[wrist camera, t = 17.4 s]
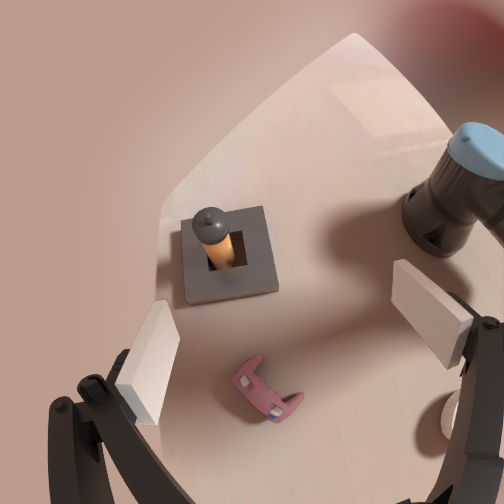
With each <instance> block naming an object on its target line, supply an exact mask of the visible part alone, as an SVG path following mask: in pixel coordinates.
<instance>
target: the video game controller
mask: <svg viewBox="0 0 504 504" xmlns="http://www.w3.org/2000/svg"><path fill="white" fill-rule="evenodd" d="M262 359H263V355H262V354H258V355H256V356H254V357H253V358H251V359H250V360H249V361H247V362H246V363H245V364H243V365H242V366H241V368H240V369H239V370H238V371H237V372H236V373H235V374H234V375H233V376H232V382H233V385H234V386H235V387H236V388H237V389H238V390H239V391H241V392H242V394H243V395H244V396H245V397H246V398H247V399H248V401H249V402H250V403H251V404H252V405H254V406H255V407H256V408H257V409H258V410H259V411H261V412H262V413H263V414H264V415H265V416H266V417H267V419H269V420H270V421H272V422H273V423H280V422H281V421H283V420H284V419H286V418H287V417H288V416H290V415H291V414H292V413H293V412H294V411H295V409H296V408H297V407H298V405H299V404H300V403H301V401H302V400H303V398H304V393H303V392H301V393H298V394H296V395H295V396H294V397H292V398H291V399H290V400H288V401H287V402H285V403H284V402H282V401H281V398H280V396H279V395H278V394H277V393H276V392H274V391H271V389H270V388H269V387H267V386H266V384H265V382H264V381H263V380H262V379H261V378H260V377H258V376H255V375H254V374H253V372H254V370H255V369H256V367H257V366H258V365H259V364H260V363H261V361H262Z"/></svg>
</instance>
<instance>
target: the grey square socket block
mask: <svg viewBox="0 0 504 504" xmlns="http://www.w3.org/2000/svg"><path fill="white" fill-rule="evenodd" d="M224 213H225V215H226V217H227V221H228V225H229V237H230V240H231V241H235V240H241V239H244V246H245V252H246V258H247V264H248V265H244V266H238V267H232V268H226V269H221V270H215V271H212V267H211V261H210V259H209V257H208V255H207V252H206V250H205V248H204V246H203V244H202V243H201V242H200V241H199V240H198V239H197V237H196V235H195V233H194V231H193V228H192V220H193V218H192V219H187V220H182V221H181V237H182V257H183V273H184V287H185V300H186V301H187V302H188V303H189V304H190V305H197V304H204V303H210V302H217V301H223V300H229V299H236V298H242V297H248V296H253V295H259V294H265V293H271V292H276V291H279V283H278V278H277V273H276V268H275V264H274V259H273V254H272V249H271V244H270V239H269V234H268V229H267V225H266V220H265V215H264V210H263V206H257V207H252V208H246V209H240V210H235V211H229V212H224Z"/></svg>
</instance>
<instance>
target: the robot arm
mask: <svg viewBox="0 0 504 504" xmlns="http://www.w3.org/2000/svg"><path fill="white" fill-rule="evenodd" d="M402 216H403V221H404V224H405V227H406V229H407V231H408V233H409V235H410V236H411V238H412V239H413V240H414V241H415V242H416V244H417V245H419V246H420V247H421V248H422V249H423V250H425V251H426V252H428V253H430V254H432V255H435V256H439V257H448V256H452V255H454V254H455V253H457V252H458V251H459V250H460V249H461V248H462V247H463V246H464V245H465V243H466V242H467V239H468V237H469V235H470V232H471V230H472V228H473V225H474V223H475V222H476V221H477V220H479V221H480V222H481V223H482V224H483V225H484V226H485V227H486V228H487V229H488V230H489V232H490V233H491V234H492V235H493V236H494V237H495V238H496V240H497V241H498V242H499V243H500V244H501V245H502V247H503V248H504V136H503V135H502V134H501V133H499V132H498V131H496V130H495V129H493V128H491V127H489V126H487V125H484V124H481V123H476V122H467V123H464V124H462V125H461V126H460V127H459V128H458V129H457V131H456V133H455V134H454V136H453V137H452V138H451V139H450V140H449V142H448V144H447V148H446V150H445V152H444V154H443V155H442V157H441V159H440V161H439V162H438V164H437V166H436V167H435V169H434V170H433V172H432V174H431V175H430V177H429V178H428V179H426V180H425V181H423V182H422V183H420V184H419V185H417V186H416V187H414V188H413V189H412V190H411V191H410V192H409V194H408V195H407V197H406V199H405V201H404V203H403V207H402ZM391 302H392V303H393V304H394V305H395V306H396V308H397V309H398V310H399V311H400V312H401V313H402V315H403V316H404V317H405V318H406V319H407V321H408V322H409V323H410V324H411V325H412V327H413V328H414V329H415V330H416V331H417V333H418V334H419V335H420V336H421V338H422V339H423V340H424V341H425V343H426V344H427V345H428V346H429V348H430V349H431V350H432V351H433V353H434V354H435V355H436V356H437V358H438V359H439V360H440V362H441V363H442V364H443V366H444V367H445V368H446V370H448V369H450V368H452V367H454V366H457V365H459V362H460V359H461V356H462V355H463V356H464V358H465V359H466V361H465V364H464V366H463V369H462V371H461V374H460V376H461V377H462V374H463V377H462V384H461V390H460V396H459V402H458V407H457V412H456V417H455V421H454V425H453V430H452V434H451V437H450V441H449V445H448V448H447V452H446V455H445V458H444V462H443V465H442V468H441V471H440V473H439V476H438V479H437V482H436V484H435V486H434V488H433V490H432V491H431V493H430V494H429V496H428V498H427V500H426V502H415V503H411V501H410V498H409V499H407V500H404V501H402V502H399V503H397V504H495V502H496V498H497V494H498V491H499V486H500V482H501V477H502V473H503V467H504V459H503V458H501V457H499V450H500V444H501V436H502V427H503V416H504V323H500V322H499V320H497V319H496V318H494V317H490V316H485V317H481V316H480V315H479V314H478V313H477V312H476V311H475V310H473V309H472V308H471V307H470V306H469V305H467V303H465V302H464V301H462V299H461V298H460V297H458V296H457V295H456V294H453V293H451V292H449V291H447V292H445V291H444V290H442V289H441V288H440V287H439V286H438V285H436V284H435V283H434V282H433V281H432V280H430V279H429V278H428V277H427V276H426V275H424V274H423V273H422V272H421V271H419V270H418V269H417V268H416V267H414V266H413V265H412V264H411V263H409V262H408V261H407V260H405V259H401V260H396V261H394V267H393V285H392V298H391ZM179 341H180V337H179V334H178V331H177V329H176V326H175V323H174V320H173V317H172V314H171V311H170V308H169V305H168V302H167V300H160V301H154V303H153V305H152V307H151V309H150V311H149V313H148V315H147V317H146V319H145V321H144V323H143V325H142V327H141V329H140V331H139V333H138V335H137V337H136V339H135V341H134V343H133V345H132V347H131V349H124V350H123V351H122V352H121V353H120V354H119V355H118V356H117V358H116V360H115V362H114V365H113V366H112V370H111V371H110V373H109V375H108V377H107V379H106V381H105V380H104V378H103V377H102V376H101V375H98V374H93V375H89V376H87V377H85V378H84V379H82V380H81V381H80V383H79V384H78V387H77V391H78V393H79V394H80V396H81V397H82V399H83V400H84V401H85V402H80V403H74V402H73V401H72V400H71V399H70V398H69V397H66V396H64V397H59V398H57V399H56V400H54V401H53V403H52V404H51V405H50V409H49V423H48V475H49V490H50V500H51V504H115V503H114V499H113V496H112V492H111V487H110V483H109V479H108V474H107V470H106V465H105V460H104V454H103V448H102V442H104V444H105V446H106V448H107V450H108V452H109V454H110V456H111V458H112V460H113V462H114V464H115V465H116V467H117V469H118V471H119V473H120V475H121V476H122V478H123V479H124V481H125V483H126V485H127V486H128V488H129V489H130V491H131V493H132V494H133V496H134V497H135V499H136V501H137V502H138V503H139V504H196V503H195V502H194V501H193V500H192V499H191V498H190V497H189V495H188V494H187V493H186V492H185V491H184V490H183V489H182V487H181V486H180V485H179V484H178V483H177V481H176V480H175V479H174V478H173V477H172V475H171V474H170V473H169V472H168V470H167V469H166V468H165V467H164V465H163V464H162V463H161V461H160V460H159V459H158V457H157V456H156V455H155V453H154V452H153V450H152V449H151V448H150V446H149V445H148V443H147V442H146V441H145V439H144V438H143V436H142V435H141V433H140V432H139V430H138V429H137V427H136V426H135V422H136V419H138V420H139V422H140V423H141V425H144V426H145V425H146V426H157V425H158V421H159V417H160V413H161V409H162V405H163V401H164V397H165V393H166V389H167V385H168V381H169V377H170V374H171V370H172V366H173V362H174V359H175V355H176V352H177V348H178V344H179Z"/></svg>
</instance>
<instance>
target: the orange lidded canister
mask: <svg viewBox="0 0 504 504" xmlns="http://www.w3.org/2000/svg"><path fill="white" fill-rule="evenodd" d="M192 228H193V231H194V233H195V235H196V237H197V239H198V240H199V241H200V242H201V243H202V244H203V246H204V248H205V250H206V252H207V255H208V257H209V259H210V261H211V263H212V265H213V266H214V267H215V268H216V269H218V270H221V269H226V268H231V267H232V266H233V264H234V262H235V254H234V251H233V247H232V244H231V240H230V237H229V225H228V221H227V217H226V215H225V213H224V212H223V211H222V210H220V209H219V208H215V207H208V208H204V209H202V210H200V211H199V212H198V213H197V214H196V215H195V216H194V218H193V220H192Z"/></svg>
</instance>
